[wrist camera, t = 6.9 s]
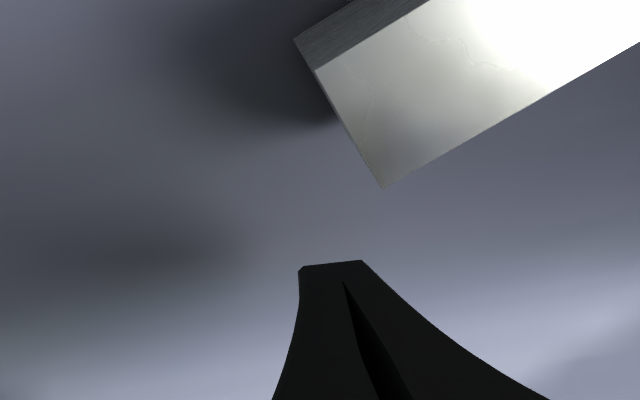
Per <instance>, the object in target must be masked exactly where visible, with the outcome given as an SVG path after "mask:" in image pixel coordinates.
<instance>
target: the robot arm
mask: <svg viewBox="0 0 640 400" xmlns="http://www.w3.org/2000/svg"><path fill="white" fill-rule="evenodd" d="M298 280H299V307H298V312H297V317H296V323H295V328H294V332H293V337H292V340H291V344H290V347H289V351H288V354H287V358H286V361H285V364H284V367H283V370H282V373H281V376H280V379H279V382H278V384H277V387H276V390H275V392H274V395H273V397H272V400H549V399H548V398H546V397H544V396H542V395H540V394H538V393H536V392H535V391H533V390H531V389H529V388H527V387H525V386H523V385H522V384H520V383H518V382H516V381H515V380H513V379H511V378H510V377H508V376H506V375H505V374H503V373H501V372H500V371H498V370H497V369H495V368H493V367H492V366H490V365H489V364H487V363H486V362H484V361H483V360H481V359H479V358H478V357H476V356H475V355H473V354H472V353H470V352H469V351H467V350H466V349H465V348H463V347H462V346H460V345H459V344H457V343H456V342H455V341H453V340H452V339H451V338H450V337H448V336H447V335H446V334H444V333H443V332H442V331H440V330H439V329H438V328H436V327H435V326H434V325H433V324H431V323H430V322H429V321H428V320H427V319H425V318H424V317H423V316H422V315H421V314H420V313H418V312H417V311H416V310H415V309H414V308H413V307H412V306H410V305H409V304H408V303H407V302H406V301H405V300H404V299H402V298H401V297H400V296H399V295H398V294H397V293H396V292H395V291H394V290H393V289H392V288H391V287H390V286H388V285H387V284H386V283H385V282H384V281H383V280H382V279H381V278H380V277H379V276H378V275H377V274H376V273H375V272H374V271H373V270H372V269H371V268H370V267H369V266H368V265H367V264H366V263H364V262H363V261H362V260H354V261H345V262H336V263H327V264H318V265H309V266H303V267H302V268H301V269H300V270H299V271H298Z"/></svg>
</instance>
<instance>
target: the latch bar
mask: <svg viewBox="0 0 640 400" xmlns="http://www.w3.org/2000/svg"><path fill="white" fill-rule="evenodd" d="M293 40H294V42H295V44H296V46H297V47H298V49H299V51H300V52H301V54H302V56H303V58H304V59H305V61H306V63H307V65H308V66H309V68H310V70H311V72H312V73H313V75H314V77H315V79H316V80H317V82H318V84H319V86H320V87H321V89H322V91H323V93H324V94H325V96H326V98H327V100H328V101H329V103H330V105H331V107H332V108H333V110H334V112H335V114H336V115H337V117H338V119H339V121H340V122H341V124H342V126H343V127H344V129H345V131H346V133H347V134H348V136H349V138H350V139H351V141H352V142H353V144H354V146H355V147H356V149H357V150H358V152H359V154H360V155H361V157H362V158H363V160H364V162H365V163H366V165H367V167H368V168H369V170H370V171H371V173H372V175H373V176H374V178H375V179H376V181H377V183H378V184H379V186H380V187H381V189H384V188H386V187H387V186H389V185H391V184H393V183H394V182H396V181H398V180H400V179H401V178H403V177H405V176H406V175H408V174H410V173H412V172H413V171H415V170H417V169H419V168H420V167H422V166H424V165H426V164H427V163H429V162H431V161H432V160H434V159H436V158H438V157H439V156H441V155H443V154H445V153H446V152H448V151H450V150H452V149H453V148H455V147H457V146H459V145H460V144H462V143H464V142H465V141H467V140H469V139H471V138H472V137H474V136H476V135H478V134H479V133H481V132H483V131H485V130H486V129H488V128H490V127H491V126H493V125H495V124H497V123H498V122H500V121H502V120H504V119H505V118H507V117H509V116H511V115H512V114H514V113H516V112H518V111H519V110H521V109H523V108H524V107H526V106H528V105H530V104H531V103H533V102H535V101H537V100H538V99H540V98H542V97H544V96H545V95H547V94H549V93H550V92H552V91H554V90H556V89H557V88H559V87H561V86H563V85H564V84H566V83H568V82H570V81H571V80H573V79H575V78H576V77H578V76H580V75H582V74H583V73H585V72H587V71H589V70H590V69H592V68H594V67H596V66H597V65H599V64H601V63H603V62H604V61H606V60H608V59H609V58H611V57H613V56H615V55H616V54H618V53H620V52H622V51H623V50H625V49H627V48H629V47H630V46H632V45H634V44H635V43H637V42H639V41H640V0H354V1H352V2H351V3H349V4H348V5H346V6H344V7H343V8H341V9H340V10H338V11H336V12H335V13H333V14H331V15H330V16H328V17H327V18H325V19H323V20H322V21H320V22H319V23H317V24H315V25H314V26H312V27H311V28H309V29H307V30H306V31H304V32H302V33H301V34H299V35H298V36H296V37H294V38H293Z"/></svg>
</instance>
